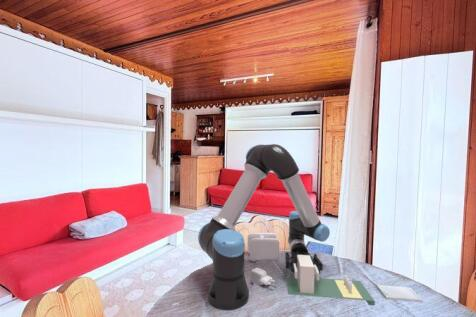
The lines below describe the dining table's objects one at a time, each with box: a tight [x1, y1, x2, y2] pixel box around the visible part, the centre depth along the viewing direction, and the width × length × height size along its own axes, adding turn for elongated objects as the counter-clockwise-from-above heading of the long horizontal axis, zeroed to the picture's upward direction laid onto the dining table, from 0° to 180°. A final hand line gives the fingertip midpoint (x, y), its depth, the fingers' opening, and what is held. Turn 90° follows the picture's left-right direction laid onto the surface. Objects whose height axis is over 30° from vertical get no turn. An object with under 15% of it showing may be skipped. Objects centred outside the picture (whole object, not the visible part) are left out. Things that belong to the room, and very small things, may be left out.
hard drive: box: [375, 284, 424, 303], centre depth 90 cm, size 2×8×12 cm
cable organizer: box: [247, 232, 280, 263], centre depth 120 cm, size 15×11×12 cm
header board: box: [285, 274, 376, 306], centre depth 91 cm, size 30×13×6 cm, turn 83°
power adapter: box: [250, 267, 279, 287], centre depth 94 cm, size 11×5×6 cm, turn 46°
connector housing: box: [296, 254, 315, 294], centre depth 92 cm, size 5×10×10 cm, turn 173°
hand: (307, 275), depth 87 cm, fingers open, 7 cm apart
